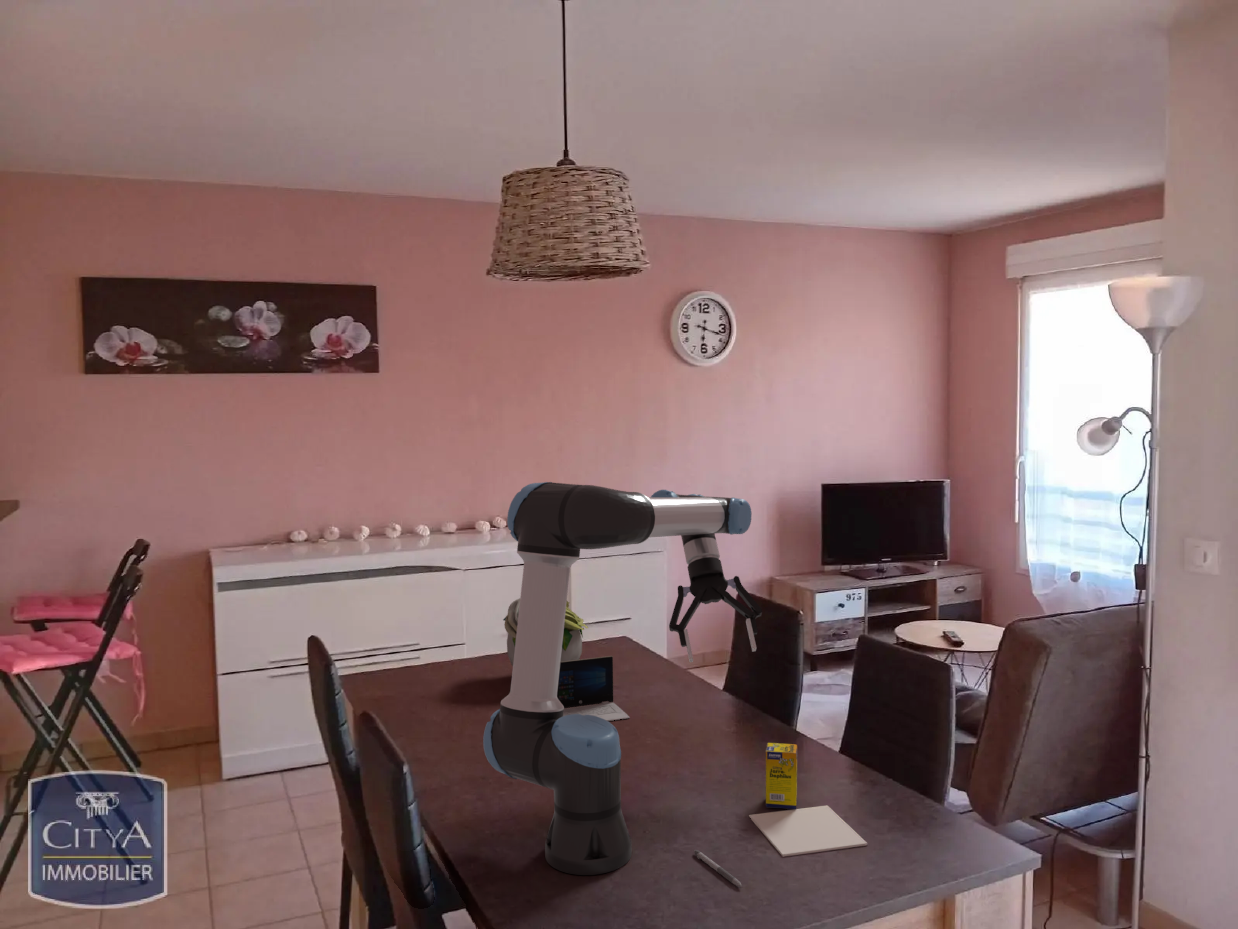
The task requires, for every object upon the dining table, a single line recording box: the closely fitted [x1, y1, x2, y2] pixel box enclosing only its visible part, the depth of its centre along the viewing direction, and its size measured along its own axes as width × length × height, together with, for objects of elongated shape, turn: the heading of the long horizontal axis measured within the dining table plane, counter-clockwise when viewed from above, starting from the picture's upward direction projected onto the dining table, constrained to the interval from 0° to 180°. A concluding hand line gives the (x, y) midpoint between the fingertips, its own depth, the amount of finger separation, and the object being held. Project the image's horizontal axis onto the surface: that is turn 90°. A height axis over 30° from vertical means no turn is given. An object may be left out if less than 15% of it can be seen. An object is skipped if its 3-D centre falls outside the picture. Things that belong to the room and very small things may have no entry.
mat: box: [748, 805, 868, 858], centre depth 175 cm, size 16×16×1 cm
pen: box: [693, 849, 743, 888], centre depth 160 cm, size 1×14×1 cm, turn 28°
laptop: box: [557, 655, 631, 722], centre depth 238 cm, size 18×12×13 cm
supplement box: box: [765, 742, 798, 810], centre depth 186 cm, size 6×6×11 cm
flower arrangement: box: [502, 597, 589, 667], centre depth 268 cm, size 25×25×24 cm
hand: (722, 655), depth 202 cm, fingers open, 13 cm apart
